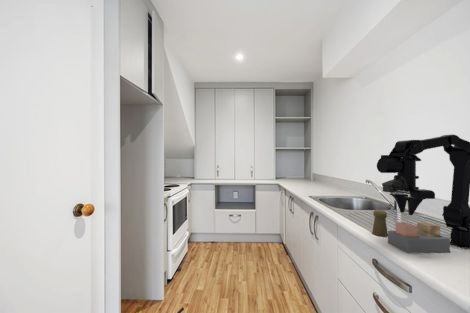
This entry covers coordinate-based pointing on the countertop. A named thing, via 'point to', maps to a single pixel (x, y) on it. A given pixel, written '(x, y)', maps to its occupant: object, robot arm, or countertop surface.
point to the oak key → (428, 229)
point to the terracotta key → (406, 229)
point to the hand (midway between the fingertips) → (406, 213)
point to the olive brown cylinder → (380, 223)
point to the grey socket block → (419, 243)
